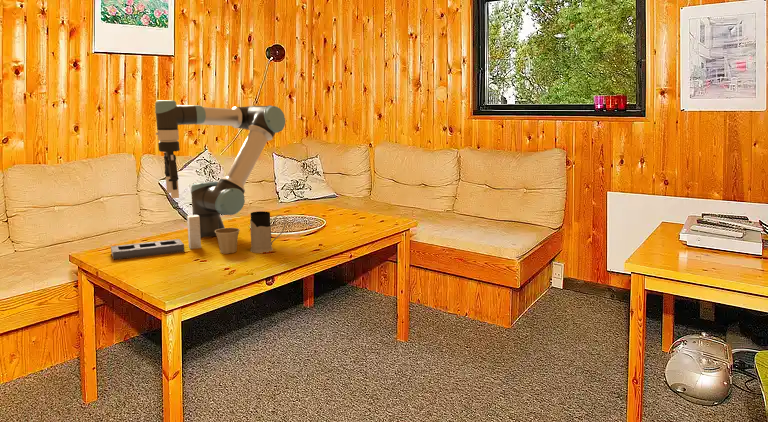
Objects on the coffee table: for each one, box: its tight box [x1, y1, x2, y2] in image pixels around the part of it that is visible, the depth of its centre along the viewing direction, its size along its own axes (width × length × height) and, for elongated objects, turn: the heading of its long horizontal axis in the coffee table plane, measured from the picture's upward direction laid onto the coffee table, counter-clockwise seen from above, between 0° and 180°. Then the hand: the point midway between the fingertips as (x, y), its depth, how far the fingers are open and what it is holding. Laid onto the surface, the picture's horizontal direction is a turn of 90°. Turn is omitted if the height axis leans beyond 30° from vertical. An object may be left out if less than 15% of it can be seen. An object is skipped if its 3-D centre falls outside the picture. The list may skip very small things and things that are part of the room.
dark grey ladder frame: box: [110, 238, 185, 260], centre depth 212 cm, size 25×10×3 cm, turn 120°
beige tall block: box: [186, 214, 202, 250], centre depth 220 cm, size 4×4×13 cm
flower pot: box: [215, 227, 241, 255], centre depth 214 cm, size 9×9×9 cm
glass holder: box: [250, 210, 287, 254], centre depth 218 cm, size 9×14×15 cm, turn 111°
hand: (172, 195), depth 215 cm, fingers open, 13 cm apart
